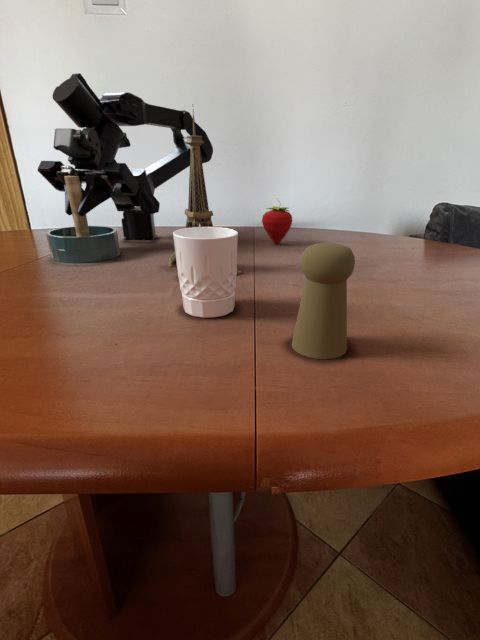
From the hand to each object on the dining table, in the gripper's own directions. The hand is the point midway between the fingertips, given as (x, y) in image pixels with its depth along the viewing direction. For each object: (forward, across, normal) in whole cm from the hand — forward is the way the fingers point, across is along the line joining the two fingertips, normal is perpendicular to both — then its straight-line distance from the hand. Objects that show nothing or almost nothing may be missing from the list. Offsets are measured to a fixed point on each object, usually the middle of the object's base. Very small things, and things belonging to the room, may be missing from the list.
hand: (73, 214), depth 70 cm
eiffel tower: (+6, +26, +5) cm, 27 cm away
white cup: (+18, +34, -7) cm, 39 cm away
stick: (+4, 0, +6) cm, 7 cm away
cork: (+22, +50, -11) cm, 56 cm away
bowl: (+6, +1, +6) cm, 8 cm away
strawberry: (-12, +33, +24) cm, 43 cm away
